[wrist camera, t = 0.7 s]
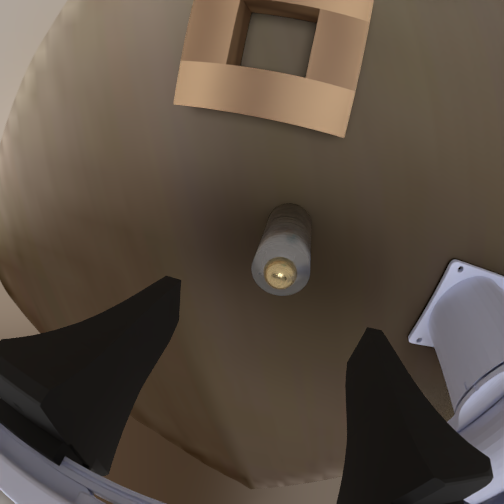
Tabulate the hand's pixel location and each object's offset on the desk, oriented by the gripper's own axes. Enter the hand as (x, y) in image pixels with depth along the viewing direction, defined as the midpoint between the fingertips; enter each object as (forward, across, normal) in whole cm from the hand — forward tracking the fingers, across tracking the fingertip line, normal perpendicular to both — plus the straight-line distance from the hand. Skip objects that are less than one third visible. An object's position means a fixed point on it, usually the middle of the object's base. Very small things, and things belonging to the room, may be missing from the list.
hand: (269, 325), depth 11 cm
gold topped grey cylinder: (+10, 0, 0) cm, 10 cm away
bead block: (+10, +3, -11) cm, 15 cm away
